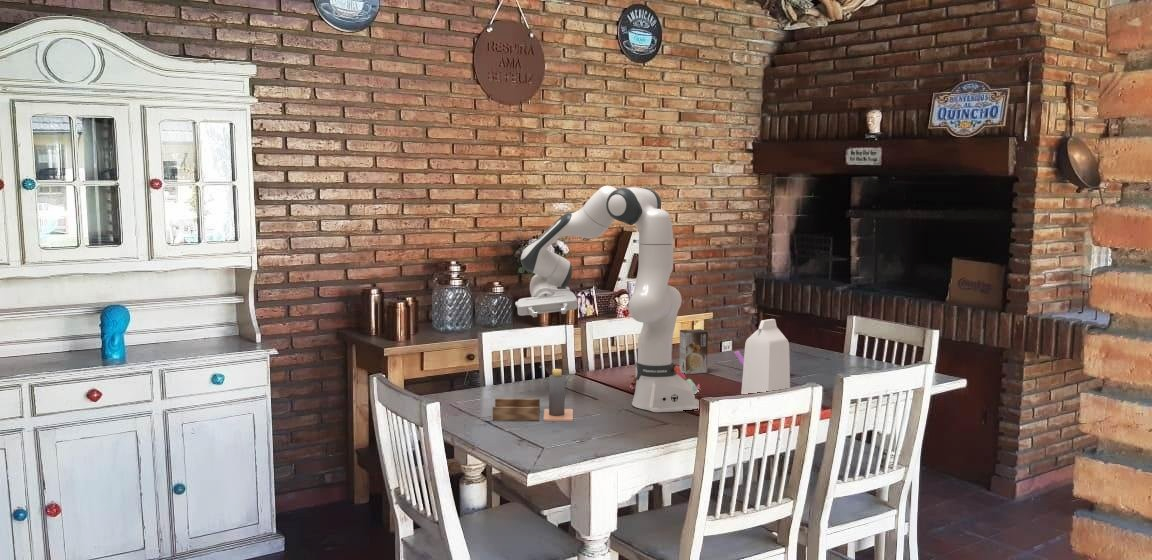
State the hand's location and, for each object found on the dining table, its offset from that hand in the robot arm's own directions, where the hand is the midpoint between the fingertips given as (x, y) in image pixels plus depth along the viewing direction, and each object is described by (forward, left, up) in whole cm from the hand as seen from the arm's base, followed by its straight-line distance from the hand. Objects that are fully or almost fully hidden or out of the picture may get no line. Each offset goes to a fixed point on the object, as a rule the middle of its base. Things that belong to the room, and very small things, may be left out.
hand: (549, 313), depth 293 cm
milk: (-74, -11, -30) cm, 81 cm away
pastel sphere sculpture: (-41, -18, -30) cm, 54 cm away
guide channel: (+10, +18, -29) cm, 36 cm away
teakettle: (-79, -41, -30) cm, 94 cm away
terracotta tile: (-3, +18, -29) cm, 35 cm away
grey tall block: (-3, +18, -29) cm, 34 cm away
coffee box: (-54, -46, -30) cm, 77 cm away
